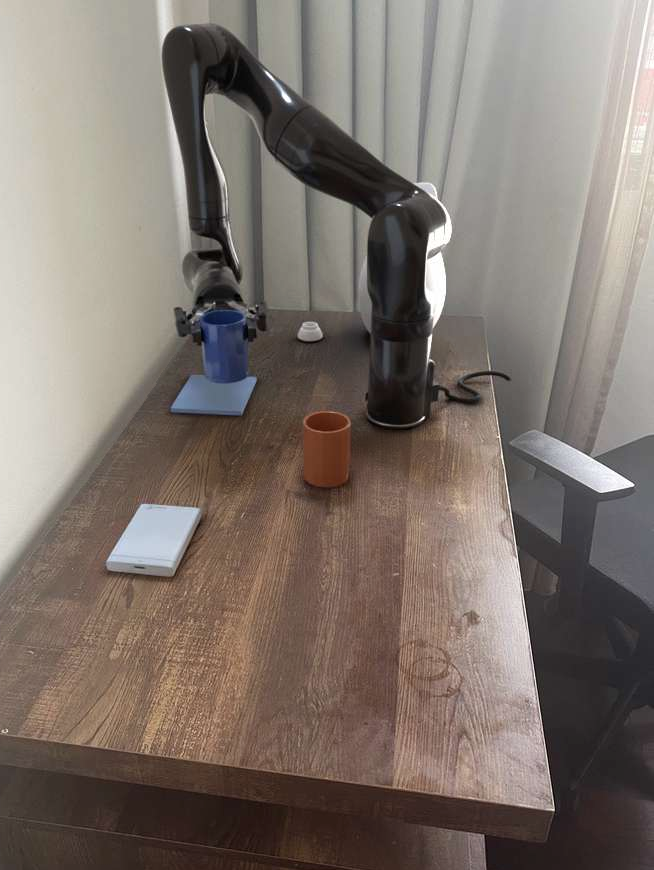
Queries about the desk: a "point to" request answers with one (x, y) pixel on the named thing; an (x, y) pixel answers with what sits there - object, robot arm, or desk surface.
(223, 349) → the blue cup
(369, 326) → the pitcher
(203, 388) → the blue mat
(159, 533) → the hard drive
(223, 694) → the desk surface
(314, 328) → the white jar
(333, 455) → the terracotta cup
